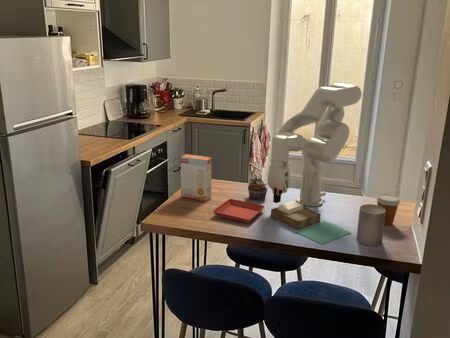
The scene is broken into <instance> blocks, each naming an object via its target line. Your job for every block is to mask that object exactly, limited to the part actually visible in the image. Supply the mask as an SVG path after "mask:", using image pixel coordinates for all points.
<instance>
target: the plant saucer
mask: <svg viewBox="0 0 450 338" xmlns="http://www.w3.org/2000/svg"><path fill="white" fill-rule="evenodd" d="M264 209H265V205H261V204H257V203H252V202H248V201H242V200H239V199H233V198H228V199H227V200H225V201H224V202H223V203H221V204H220V205H219V206H217V207H216V208H214V209H213V210H212V212H213V214H214V215H215V216H216V217H218V218H220V219H221V218H222V219H225V220H226V219H227V220H230V221H235V222H239V223H243V224H244V223H245V224H249V223H250V222H251V221H252V220H253V219H255V217H257V216H258V215H259V214H260V213H261V212H262V211H263V210H264Z"/></svg>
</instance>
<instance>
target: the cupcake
mask: <svg viewBox="0 0 450 338" xmlns="http://www.w3.org/2000/svg"><path fill="white" fill-rule="evenodd" d="M247 185H248V186H247V190H248V196H249V199H251V200H253V201H263V200H266V196H267V192H268V188H267V185H266V183H265V182H264V180H263V179H262V178H258V177H254V178H252V179H251V178H250V181H249V183H248V184H247Z"/></svg>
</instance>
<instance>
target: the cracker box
mask: <svg viewBox="0 0 450 338" xmlns="http://www.w3.org/2000/svg"><path fill="white" fill-rule="evenodd" d="M212 159H213V158H212V157H211V156H210V157H209V156H205V155H203V156H202V155H196V154H188V153H185V154H184V155H181V156H180V195H181V196H180V197H181V198H184V197H185V198H186V199H191V200H197V201H202V202H208V201H209V200H210V199H212V170H213V169H212V167H213V166H212V164H213V163H212ZM185 198H184V199H185Z"/></svg>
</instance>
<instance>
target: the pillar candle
mask: <svg viewBox="0 0 450 338" xmlns="http://www.w3.org/2000/svg"><path fill="white" fill-rule="evenodd" d="M385 213H386V210H385V209H384V208H383V207H381V206H378V205H377V204H372V203H371V204H370V203H366V204H361V205H360V206H359V212H358V221H357V231H356V241H357V242H358V243H359V244H362V245H365V246H369V247H377V246H378V247H379V246H380V245H381V244H383V243H382V242H383V237H384V229H385V226H384V221H385Z"/></svg>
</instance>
